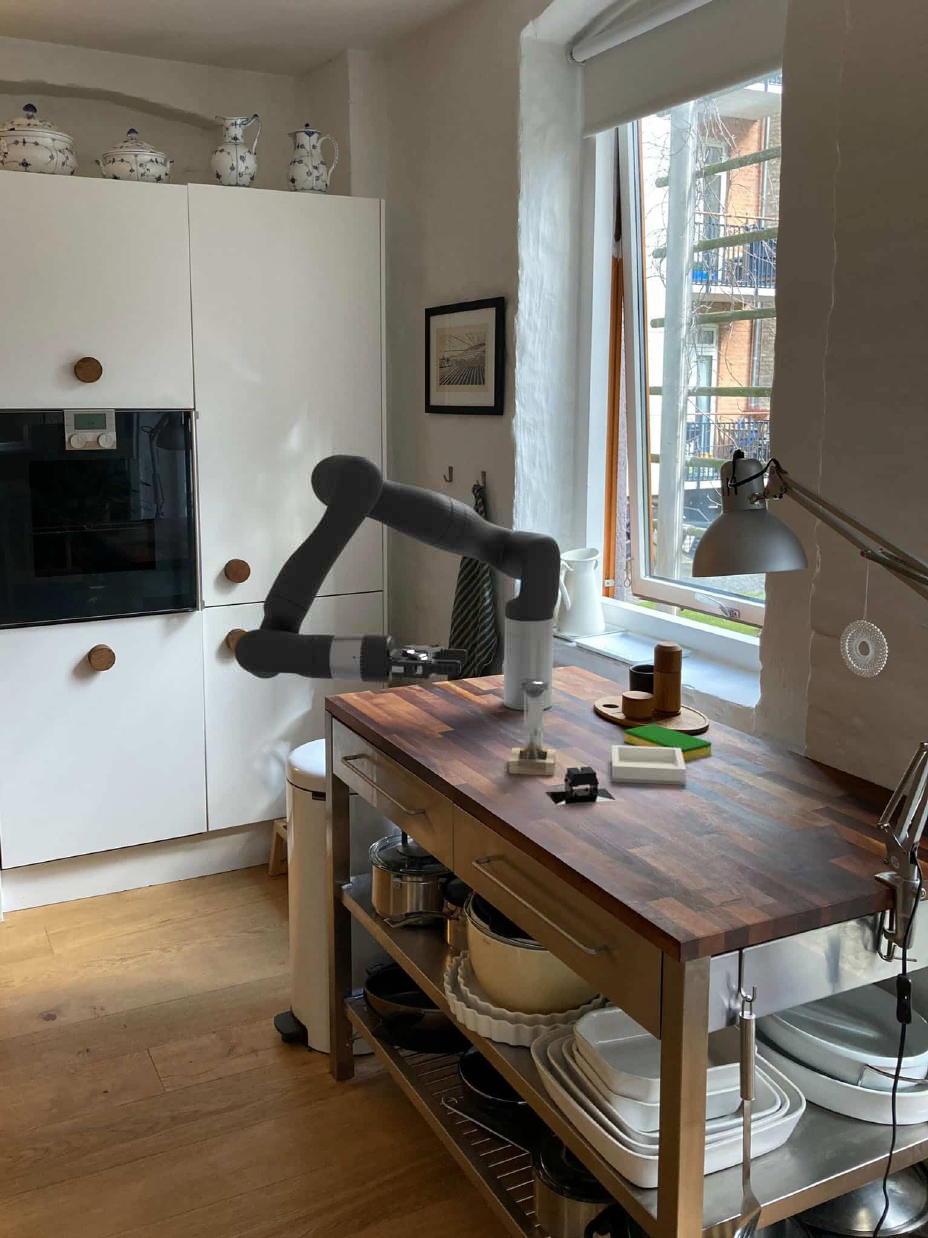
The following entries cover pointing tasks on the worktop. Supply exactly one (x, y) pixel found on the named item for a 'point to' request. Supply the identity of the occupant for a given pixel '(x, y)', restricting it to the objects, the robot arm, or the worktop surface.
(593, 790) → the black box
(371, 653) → the robot arm
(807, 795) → the worktop surface
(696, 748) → the dish sponge
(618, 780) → the dish
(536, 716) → the pin
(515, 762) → the socket block
